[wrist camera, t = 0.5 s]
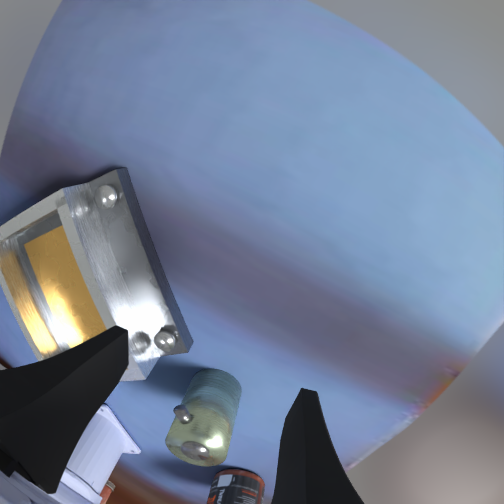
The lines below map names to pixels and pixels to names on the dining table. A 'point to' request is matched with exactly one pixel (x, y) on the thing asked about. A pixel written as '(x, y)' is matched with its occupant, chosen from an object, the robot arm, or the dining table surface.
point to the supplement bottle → (236, 488)
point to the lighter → (106, 491)
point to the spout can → (205, 418)
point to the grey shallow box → (90, 274)
